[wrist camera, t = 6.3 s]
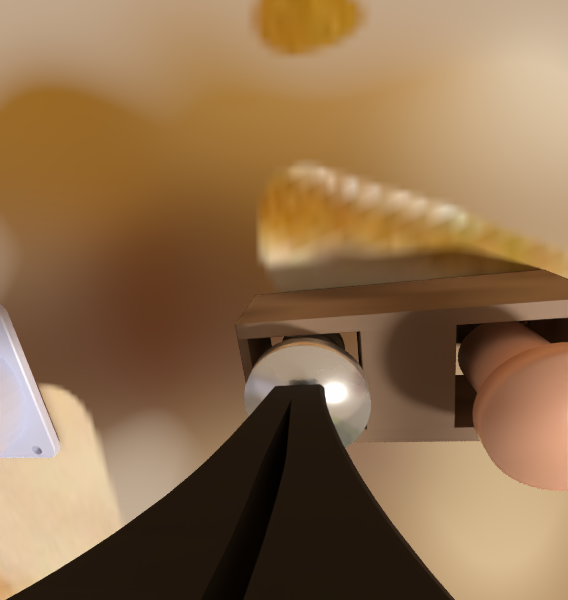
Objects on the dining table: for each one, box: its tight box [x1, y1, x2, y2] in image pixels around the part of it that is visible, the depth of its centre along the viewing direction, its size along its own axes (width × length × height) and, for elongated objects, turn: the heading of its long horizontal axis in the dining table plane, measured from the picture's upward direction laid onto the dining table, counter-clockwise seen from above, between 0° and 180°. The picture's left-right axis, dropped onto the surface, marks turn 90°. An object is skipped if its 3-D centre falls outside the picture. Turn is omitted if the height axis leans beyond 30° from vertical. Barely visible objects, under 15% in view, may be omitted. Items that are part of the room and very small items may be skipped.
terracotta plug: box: [458, 321, 568, 491], centre depth 9 cm, size 4×4×4 cm
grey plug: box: [244, 333, 371, 447], centre depth 11 cm, size 4×4×4 cm
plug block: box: [235, 269, 568, 442], centre depth 12 cm, size 10×4×3 cm, turn 98°
